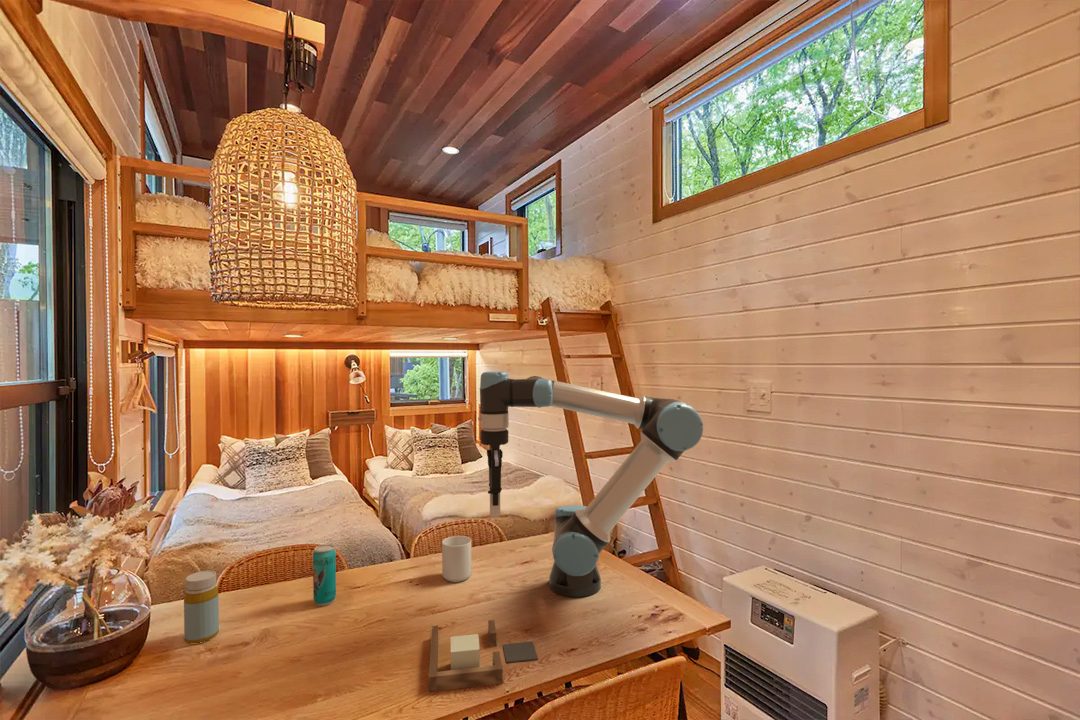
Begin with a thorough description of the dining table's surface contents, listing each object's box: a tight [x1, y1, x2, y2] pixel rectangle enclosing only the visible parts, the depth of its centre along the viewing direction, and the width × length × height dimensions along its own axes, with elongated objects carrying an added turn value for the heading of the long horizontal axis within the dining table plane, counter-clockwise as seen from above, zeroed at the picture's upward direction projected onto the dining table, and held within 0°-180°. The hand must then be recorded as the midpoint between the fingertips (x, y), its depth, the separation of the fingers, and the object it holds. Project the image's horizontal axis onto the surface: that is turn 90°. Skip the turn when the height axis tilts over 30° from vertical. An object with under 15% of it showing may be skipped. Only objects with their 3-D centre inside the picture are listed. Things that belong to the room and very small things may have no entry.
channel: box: [428, 619, 504, 693], centre depth 116 cm, size 15×20×3 cm
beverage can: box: [312, 544, 337, 607], centre depth 142 cm, size 6×6×15 cm
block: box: [450, 633, 481, 670], centre depth 112 cm, size 6×6×6 cm
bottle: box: [183, 570, 220, 644], centre depth 125 cm, size 7×7×15 cm
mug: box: [441, 535, 473, 583], centre depth 160 cm, size 12×9×11 cm
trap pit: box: [502, 640, 539, 664], centre depth 118 cm, size 7×7×1 cm
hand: (495, 516), depth 139 cm, fingers closed
